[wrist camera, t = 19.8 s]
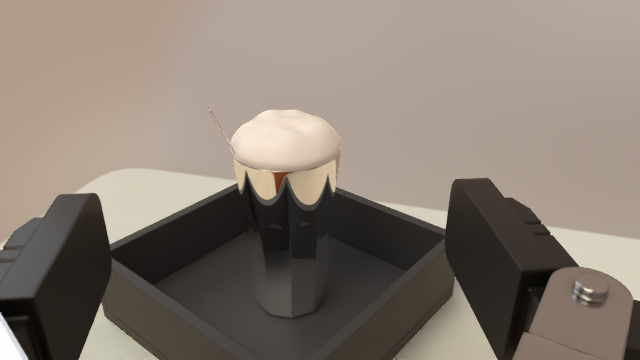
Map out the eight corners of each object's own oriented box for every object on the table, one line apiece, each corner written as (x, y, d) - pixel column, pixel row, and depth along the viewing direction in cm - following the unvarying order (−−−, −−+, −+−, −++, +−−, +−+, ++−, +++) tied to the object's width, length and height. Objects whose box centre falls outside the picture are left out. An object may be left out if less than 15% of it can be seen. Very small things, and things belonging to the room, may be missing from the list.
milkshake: (216, 284, 27) (195, 90, 23) (315, 259, 29) (315, 75, 24) (241, 345, 23) (223, 129, 19) (353, 312, 25) (361, 108, 21)
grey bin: (104, 316, 26) (89, 253, 24) (278, 215, 34) (276, 163, 33) (290, 465, 19) (288, 393, 18) (452, 295, 27) (461, 235, 26)
